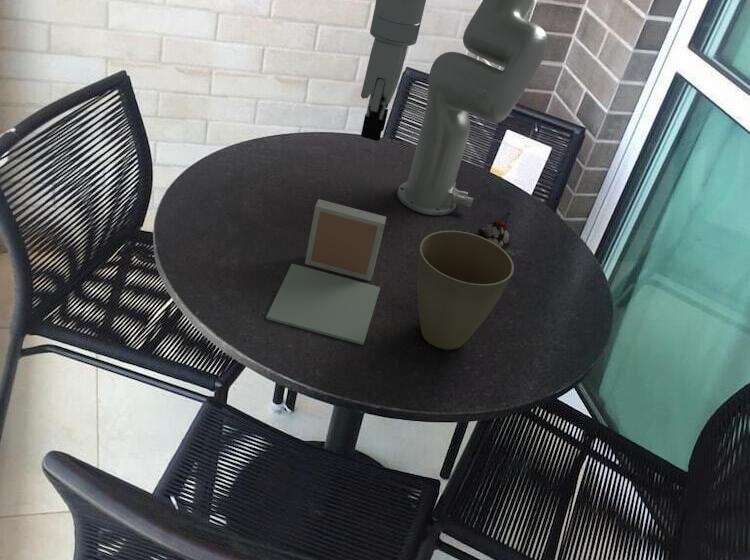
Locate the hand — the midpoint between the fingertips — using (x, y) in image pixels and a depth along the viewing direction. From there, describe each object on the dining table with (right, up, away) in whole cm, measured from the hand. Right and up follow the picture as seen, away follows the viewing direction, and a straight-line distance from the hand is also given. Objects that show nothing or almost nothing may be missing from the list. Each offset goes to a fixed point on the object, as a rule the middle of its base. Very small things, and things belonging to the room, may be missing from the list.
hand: (372, 132), depth 138 cm
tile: (-6, -23, +7) cm, 25 cm away
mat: (-8, -29, -3) cm, 30 cm away
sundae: (+19, -26, +12) cm, 34 cm away
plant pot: (+11, -34, -3) cm, 36 cm away
